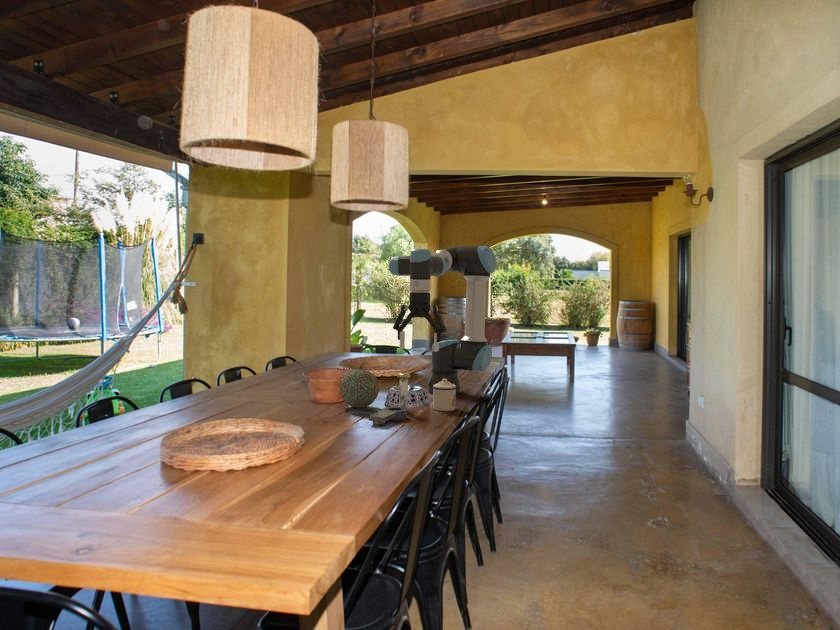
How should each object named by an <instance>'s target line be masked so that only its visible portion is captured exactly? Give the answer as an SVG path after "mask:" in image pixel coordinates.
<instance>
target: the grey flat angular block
mask: <svg viewBox="0 0 840 630" xmlns="http://www.w3.org/2000/svg"><path fill="white" fill-rule="evenodd" d="M351 412H352V413H351V414H352V416H359V417H360V416H361V417H368V421H369V422H372V426H373V427H384V426H385V422H388V421H390V422H391V421H393V422H396V421H406V420H408V412H407V408H404V407H399V406H385V407H383V408H382V409H376V408H367V407H364V408H361V407H360V408H355V409H352V411H351Z"/></svg>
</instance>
